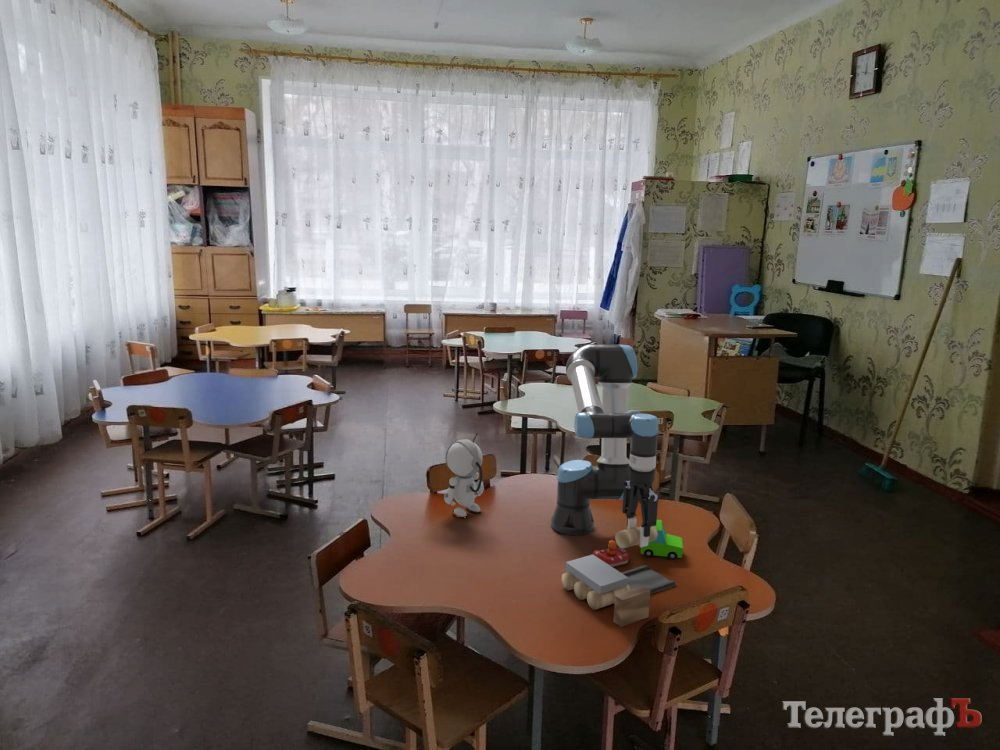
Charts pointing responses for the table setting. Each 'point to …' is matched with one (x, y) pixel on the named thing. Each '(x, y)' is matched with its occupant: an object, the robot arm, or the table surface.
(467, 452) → the robot
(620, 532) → the roller
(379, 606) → the table surface
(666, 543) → the toy car
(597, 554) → the toy boat
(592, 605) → the track
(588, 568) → the slab
